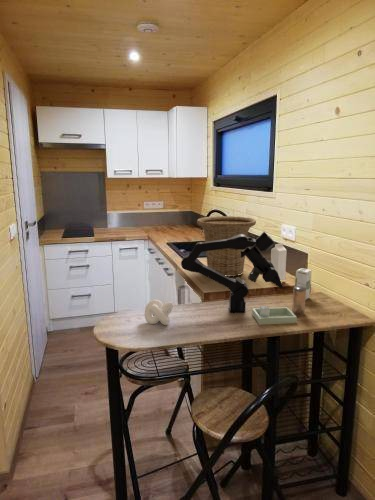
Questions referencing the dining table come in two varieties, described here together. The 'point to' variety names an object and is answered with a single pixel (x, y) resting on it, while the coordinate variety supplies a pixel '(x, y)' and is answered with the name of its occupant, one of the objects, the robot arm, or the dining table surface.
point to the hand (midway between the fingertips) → (280, 284)
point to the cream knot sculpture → (158, 312)
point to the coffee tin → (299, 300)
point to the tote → (275, 316)
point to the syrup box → (304, 280)
